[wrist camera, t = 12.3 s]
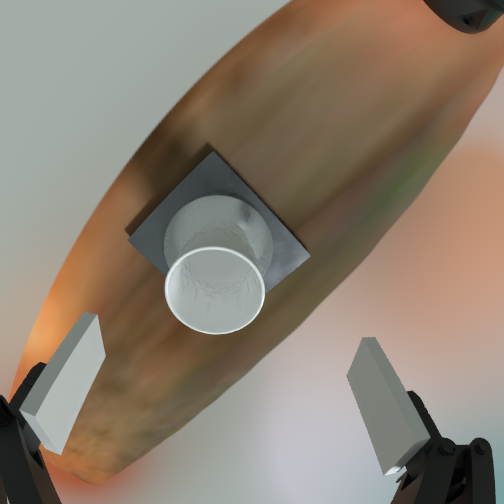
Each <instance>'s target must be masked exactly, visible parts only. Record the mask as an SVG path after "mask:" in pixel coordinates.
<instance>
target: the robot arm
mask: <svg viewBox="0 0 504 504" xmlns="http://www.w3.org/2000/svg"><path fill="white" fill-rule="evenodd" d="M424 1H425V2H426V3H427V4H428V6H429V7H430V8H431V9H432V10H433V11H434V12H435V13H436V14H437V15H438V16H439V17H440V18H441V19H443V20H444V21H445V22H446V23H448V24H449V25H450V26H452V27H453V28H455V29H457V30H459V31H461V32H464V33H468V34H475V33H478V32H482V31H485V30H487V29H488V28H489V27H490V26H491V25H492V24H493V23H494V22H495V21H496V20H497V19H499V18H500V17H501V16H502V15H503V14H504V0H424ZM105 357H106V356H105V351H104V347H103V342H102V337H101V332H100V327H99V321H98V316H97V314H92V313H87V312H84V313H83V314H82V315H81V317H80V318H79V319H78V321H77V322H76V324H75V325H74V326H73V328H72V329H71V330H70V332H69V333H68V335H67V336H66V338H65V339H64V340H63V342H62V343H61V345H60V346H59V348H58V349H57V350H56V352H55V353H54V355H53V356H52V358H51V359H50V361H49V362H48V364H45V363H42V362H39V363H38V364H37V365H35V366H34V367H33V368H32V369H31V370H30V372H29V373H28V375H27V377H26V378H25V379H24V381H23V382H22V384H21V385H20V387H19V388H18V390H17V391H16V393H15V394H14V396H13V398H12V399H11V401H10V403H9V404H8V402H7V401H6V399H5V398H4V397H3V396H2V395H0V504H7V497H8V500H9V503H10V504H62V503H61V501H60V499H59V497H58V495H57V493H56V490H55V488H54V486H53V483H52V481H51V478H50V476H49V473H48V471H47V468H46V466H45V463H44V460H43V457H42V454H41V452H40V450H39V448H38V447H39V445H40V443H42V444H43V446H44V447H45V448H46V449H47V450H49V451H52V452H54V453H57V454H59V455H61V453H62V451H63V448H64V446H65V444H66V441H67V439H68V436H69V434H70V431H71V429H72V427H73V424H74V422H75V420H76V418H77V415H78V413H79V411H80V409H81V406H82V404H83V402H84V400H85V398H86V396H87V393H88V391H89V389H90V387H91V385H92V383H93V381H94V379H95V377H96V375H97V373H98V371H99V368H100V366H101V364H102V362H103V360H104V358H105ZM347 378H348V381H349V383H350V386H351V389H352V391H353V394H354V396H355V399H356V401H357V404H358V407H359V409H360V412H361V414H362V417H363V420H364V422H365V425H366V428H367V430H368V433H369V436H370V439H371V441H372V444H373V447H374V450H375V452H376V455H377V458H378V461H379V464H380V466H381V469H382V472H383V475H388V474H392V473H396V472H399V471H400V470H401V469H402V468H403V467H404V466H406V469H407V471H406V472H405V473H404V474H403V475H402V476H401V477H400V478H399V479H398V480H397V481H396V482H397V483H398V482H399V481H400V480H401V479H402V480H401V482H400V485H399V487H398V489H397V491H396V494H395V496H394V498H393V500H392V502H391V504H496V496H495V478H494V466H493V457H492V449H491V446H490V444H489V442H488V441H487V440H485V439H484V438H475V439H474V440H473V441H472V442H471V443H470V444H469V445H456V444H455V443H454V442H453V441H452V440H450V439H448V438H442V436H441V435H440V433H439V431H438V429H437V427H436V425H435V423H434V422H433V420H432V418H431V416H430V414H428V411H427V409H426V408H425V407H424V406H425V405H424V404H423V402H422V400H421V398H420V397H419V396H418V395H417V394H416V393H415V392H413V391H407V392H406V390H405V388H404V386H403V385H402V383H401V381H400V379H399V377H398V376H397V374H396V372H395V370H394V369H393V367H392V365H391V364H390V362H389V360H388V359H387V357H386V355H385V353H384V352H383V350H382V348H381V347H380V345H379V343H378V341H377V340H376V338H375V337H367V338H365V337H364V338H362V340H361V342H360V345H359V347H358V350H357V352H356V355H355V357H354V360H353V362H352V365H351V367H350V369H349V371H348V374H347ZM6 494H7V495H6Z"/></svg>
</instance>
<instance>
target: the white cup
mask: <svg viewBox="0 0 504 504" xmlns="http://www.w3.org/2000/svg"><path fill="white" fill-rule="evenodd" d="M165 296H166V300H167V303H168V305H169V307H170V309H171V311H172V312H173V314H174V315H175V316H176V317H177V318H178V319H179V320H180V321H181V322H182V323H184V324H185V325H187V326H188V327H190V328H192V329H194V330H197V331H199V332H203V333H208V334H225V333H230V332H234V331H236V330H239V329H241V328H243V327H245V326H246V325H248V324H249V323H250V322H251V321H252V320H253V319H254V318H255V317H256V316H257V314H258V313H259V311H260V309H261V307H262V305H263V302H264V297H265V287H264V282H263V278H262V275H261V272H260V269H259V265H258V262H257V258H256V255H255V252H254V250H253V247H252V245H251V243H250V241H249V239H248V236H247V234H246V232H245V231H244V230H243V229H242V228H240V227H239V226H238V225H237V224H236V223H234V222H230V221H226V220H223V219H218V220H213V221H207V222H205V223H204V224H203V225H201V226H200V227H199V228H197V229H196V230H195V231H194V233H193V235H192V236H191V237H190V238H189V239H188V241H187V242H186V244H185V245H184V246H183V248H182V249H181V251H180V253H179V254H178V256H177V258H176V260H175V261H174V263H173V265H172V266H171V268H170V270H169V272H168V274H167V277H166V281H165Z"/></svg>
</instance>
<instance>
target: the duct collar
mask: <svg viewBox="0 0 504 504" xmlns="http://www.w3.org/2000/svg"><path fill="white" fill-rule="evenodd" d="M218 219H223V220H226V221H230V222H234V223H236V224H237V225H238V226H239V227H240V228H242V229H243V230H244V231H245V232H246V234H247V236H248V239H249V241H250V243H251V245H252V247H253V250H254V252H255V255H256V258H257V262H258V265H259V269H260V272H261V275H262V278H263V282H264V287H265V294H266V293H267V292H268V291H269V290H270V289H272V288H273V287H274V286H275V285H277V284H278V283H279V282H280V281H281V280H283V279H284V278H285V277H286V276H287V275H289V274H290V273H291V272H292V271H293V270H295V269H296V268H297V267H298V266H299V265H301V264H302V263H303V262H304V261H305V260H307V259H308V258H309V257H310V256H311V255H310V253H309V252H308V251H307V250H306V249H305V248H304V246H303V245H302V244H301V243H300V242H299V241H298V240H297V239H296V238H295V236H294V235H293V234H292V233H291V232H290V231H289V230H288V229H287V228H286V226H285V225H284V224H283V223H282V222H281V221H280V220H279V219H278V218H277V217H276V216H275V214H274V213H273V212H272V211H271V210H270V209H269V208H268V207H267V206H266V205H265V204H264V203H263V201H262V200H261V199H260V198H259V197H258V196H257V195H256V194H255V193H254V192H253V191H252V190H251V189H250V188H249V187H248V186H247V184H246V183H245V182H244V181H243V180H242V179H241V178H240V177H239V176H238V175H237V174H236V173H235V172H234V171H233V170H232V169H231V168H230V167H229V166H228V165H227V164H226V163H225V161H224V160H223V159H222V158H221V157H220V156H219V155H218V154H217V153H216V152H215V151H212V152H211V153H210V154H209V155H208V156H207V157H206V158H205V159H204V160H203V161H202V162H201V163H200V164H199V165H198V166H197V167H196V168H195V169H194V170H193V171H192V172H191V173H190V174H189V175H188V176H187V177H186V178H185V179H184V180H183V181H182V182H181V183H180V184H179V185H178V186H177V187H176V188H175V189H174V190H173V191H172V192H171V193H170V194H169V195H168V196H167V197H166V198H165V199H164V200H163V201H162V202H161V203H160V204H159V205H158V207H157V208H156V209H155V210H154V211H153V212H152V213H151V214H150V215H149V216H148V217H147V218H146V220H145V221H144V222H143V223H142V224H141V225H140V226H139V227H138V228H137V230H136V231H135V232H134V233H133V234H132V235H131V236H130V238H129V239H128V241H129V242H130V243H131V244H132V245H133V246H134V247H135V248H136V249H137V250H138V251H139V252H140V253H141V254H142V255H143V256H145V257H146V258H147V259H148V260H149V261H150V262H151V263H152V264H153V265H154V266H155V267H156V268H157V269H158V270H160V271H161V272H162V273H163V274H164V275H165V276H166V277H167V274H168V272H169V270H170V268H171V266H172V265H173V263H174V261H175V260H176V258H177V256H178V254H179V253H180V251H181V249H182V248H183V246H184V245H185V244H186V242H187V241H188V239H189V238H190V237H191V236H192V235H193V233H194V231H195V230H196V229H197V228H199V227H200V226H201V225H203V224H204V223H205V222H207V221H213V220H218Z"/></svg>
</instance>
